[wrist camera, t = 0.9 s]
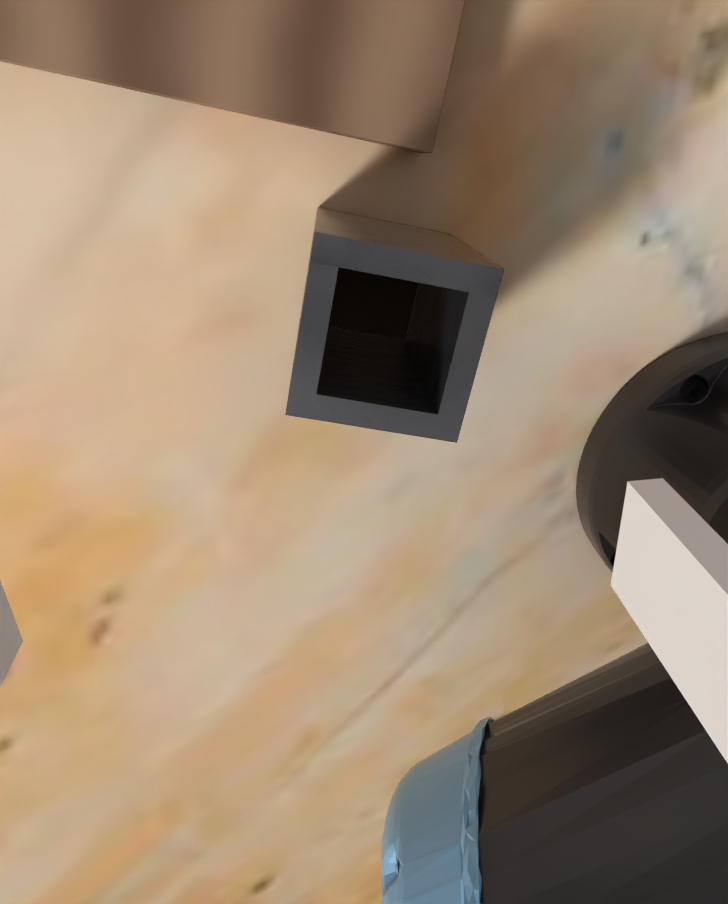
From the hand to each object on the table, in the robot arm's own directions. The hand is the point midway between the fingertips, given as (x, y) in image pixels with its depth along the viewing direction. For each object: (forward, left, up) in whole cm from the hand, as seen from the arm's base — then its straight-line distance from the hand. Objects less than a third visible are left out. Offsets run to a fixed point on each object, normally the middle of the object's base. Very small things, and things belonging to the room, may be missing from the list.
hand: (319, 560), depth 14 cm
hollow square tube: (-2, -3, -19) cm, 19 cm away
